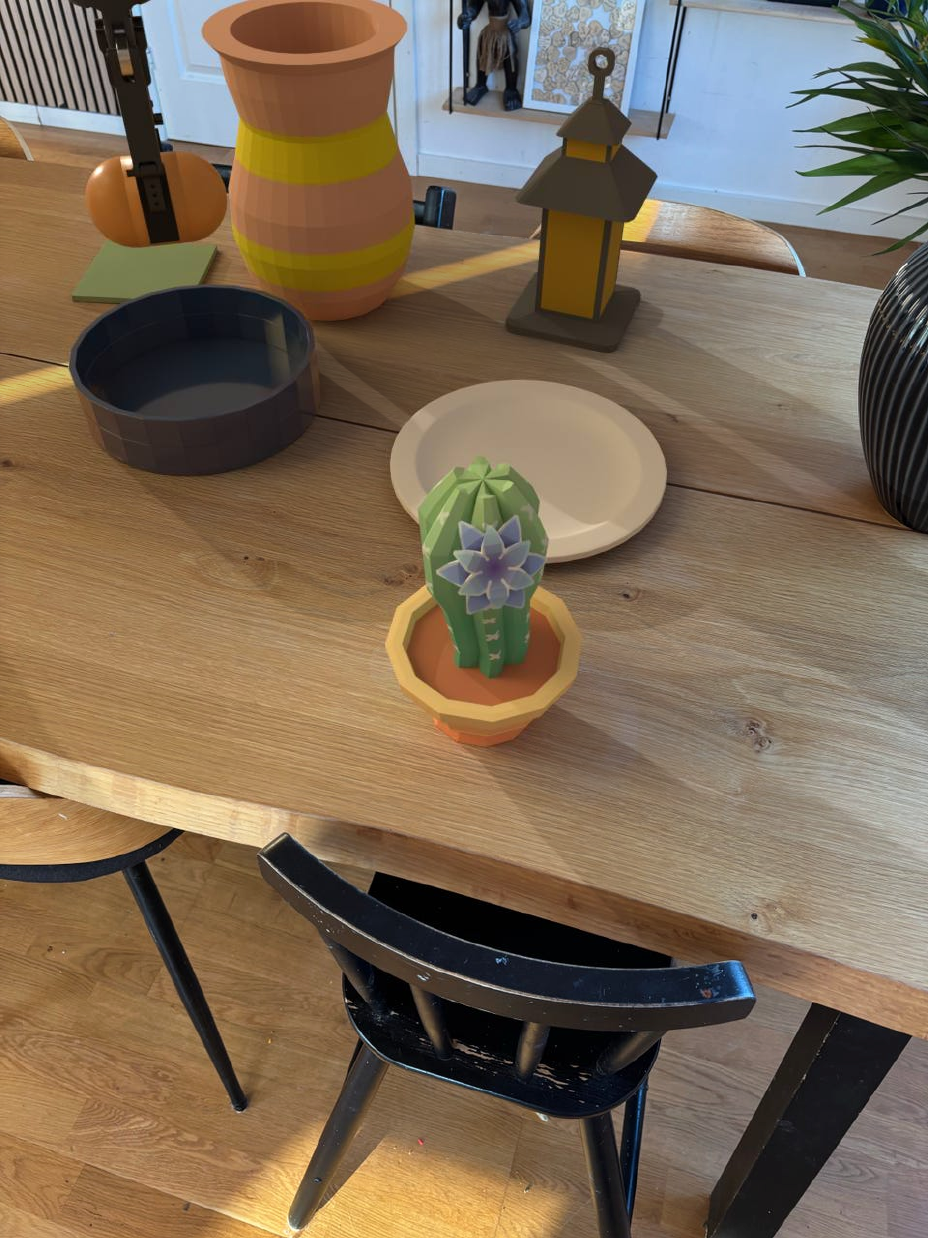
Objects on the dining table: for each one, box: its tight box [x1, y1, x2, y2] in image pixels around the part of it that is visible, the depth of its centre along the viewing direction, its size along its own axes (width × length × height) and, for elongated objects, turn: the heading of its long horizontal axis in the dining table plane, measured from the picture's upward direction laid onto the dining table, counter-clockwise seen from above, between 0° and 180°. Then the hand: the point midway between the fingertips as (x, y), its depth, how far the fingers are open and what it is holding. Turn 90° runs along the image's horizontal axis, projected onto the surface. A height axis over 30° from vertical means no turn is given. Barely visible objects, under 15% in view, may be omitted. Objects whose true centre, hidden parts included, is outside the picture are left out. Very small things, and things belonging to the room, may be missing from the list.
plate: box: [389, 379, 668, 564], centre depth 100 cm, size 28×28×2 cm
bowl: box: [67, 283, 322, 477], centre depth 106 cm, size 25×25×7 cm
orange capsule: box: [85, 150, 228, 248], centre depth 93 cm, size 13×8×8 cm, turn 106°
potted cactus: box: [384, 456, 584, 748], centre depth 73 cm, size 15×15×25 cm
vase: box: [200, 0, 416, 322], centre depth 114 cm, size 22×22×30 cm
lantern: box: [505, 46, 659, 354], centre depth 111 cm, size 14×14×30 cm
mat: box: [70, 239, 219, 304], centre depth 126 cm, size 15×14×1 cm
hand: (161, 218), depth 95 cm, fingers closed on orange capsule, 8 cm apart
